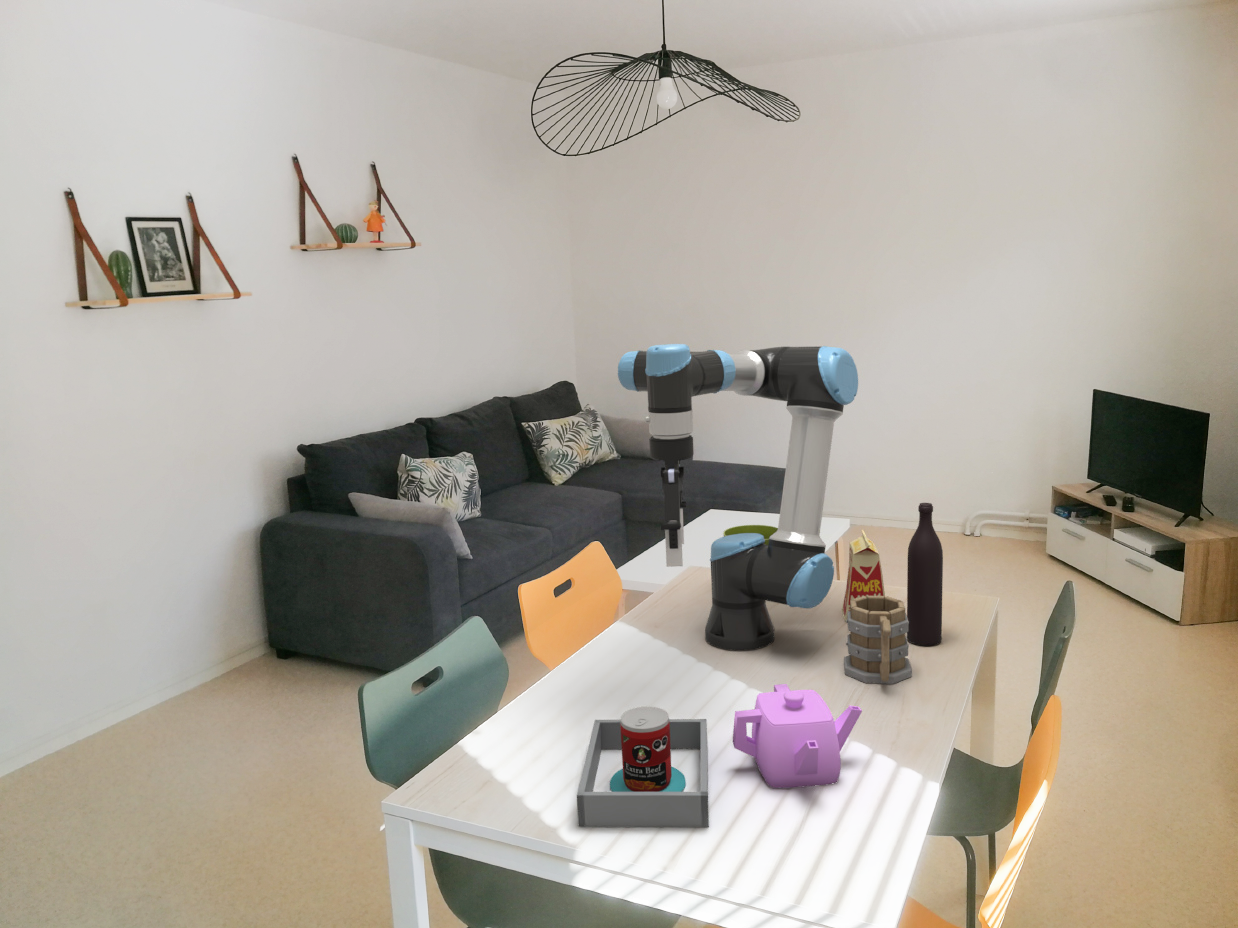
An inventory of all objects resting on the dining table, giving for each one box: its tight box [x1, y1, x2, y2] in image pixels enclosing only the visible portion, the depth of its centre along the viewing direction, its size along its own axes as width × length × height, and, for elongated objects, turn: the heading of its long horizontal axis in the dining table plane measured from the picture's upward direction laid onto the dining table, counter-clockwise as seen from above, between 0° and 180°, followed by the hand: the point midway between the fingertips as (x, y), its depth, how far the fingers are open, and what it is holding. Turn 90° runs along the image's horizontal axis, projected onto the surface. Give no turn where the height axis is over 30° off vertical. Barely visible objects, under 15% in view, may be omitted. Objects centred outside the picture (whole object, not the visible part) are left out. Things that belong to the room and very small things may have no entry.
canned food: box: [619, 705, 672, 792], centre depth 146 cm, size 8×8×11 cm
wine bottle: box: [906, 502, 944, 647], centre depth 196 cm, size 7×7×30 cm
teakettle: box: [732, 683, 863, 789], centre depth 149 cm, size 17×17×12 cm
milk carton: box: [841, 529, 886, 623], centre depth 213 cm, size 9×9×20 cm
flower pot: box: [722, 524, 778, 545], centre depth 233 cm, size 15×15×16 cm
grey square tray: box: [576, 718, 710, 828], centre depth 147 cm, size 24×19×5 cm
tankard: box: [843, 595, 913, 685], centre depth 180 cm, size 20×13×15 cm, turn 169°
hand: (675, 554), depth 164 cm, fingers open, 13 cm apart
